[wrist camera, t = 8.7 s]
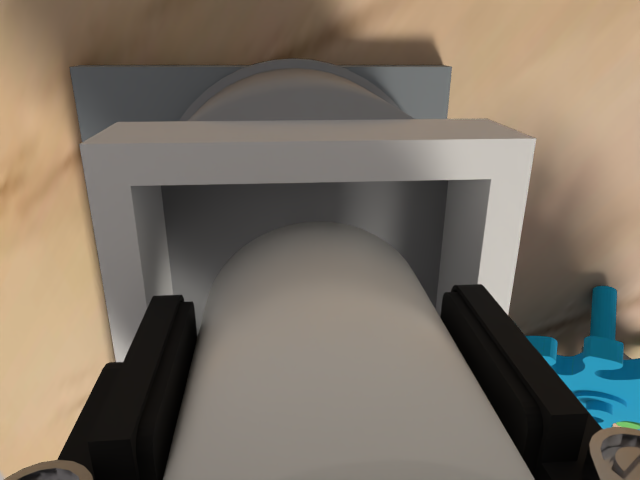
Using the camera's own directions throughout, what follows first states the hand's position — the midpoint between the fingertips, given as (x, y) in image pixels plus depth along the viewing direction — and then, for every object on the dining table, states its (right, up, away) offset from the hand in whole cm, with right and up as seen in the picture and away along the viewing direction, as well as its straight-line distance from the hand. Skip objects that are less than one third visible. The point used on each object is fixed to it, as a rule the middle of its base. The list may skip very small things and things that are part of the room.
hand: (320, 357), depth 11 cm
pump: (0, 0, +1) cm, 1 cm away
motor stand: (-2, -2, +14) cm, 14 cm away
